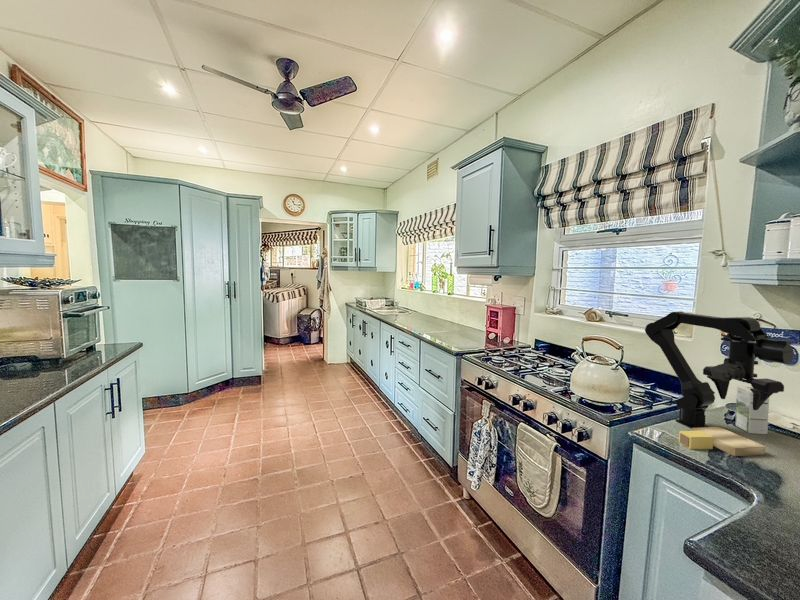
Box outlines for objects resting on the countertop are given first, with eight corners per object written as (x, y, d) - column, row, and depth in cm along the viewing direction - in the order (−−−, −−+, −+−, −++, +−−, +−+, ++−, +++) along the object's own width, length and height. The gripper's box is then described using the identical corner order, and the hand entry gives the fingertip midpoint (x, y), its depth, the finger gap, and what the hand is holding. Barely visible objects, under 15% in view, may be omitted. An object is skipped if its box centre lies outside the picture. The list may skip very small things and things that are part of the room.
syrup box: (768, 434, 108) (771, 392, 107) (747, 433, 109) (750, 391, 109) (753, 427, 114) (756, 387, 113) (733, 425, 115) (736, 386, 114)
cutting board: (691, 435, 108) (691, 427, 108) (718, 433, 109) (718, 426, 109) (734, 456, 95) (735, 448, 95) (764, 454, 96) (765, 446, 96)
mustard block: (700, 442, 103) (678, 443, 103) (701, 430, 103) (678, 430, 103) (712, 449, 99) (689, 449, 99) (713, 436, 99) (690, 437, 99)
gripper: (689, 350, 111) (687, 394, 112) (753, 364, 93) (749, 417, 94) (718, 350, 112) (716, 393, 113) (787, 363, 94) (783, 416, 95)
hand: (738, 404), depth 104 cm, fingers open, 9 cm apart
